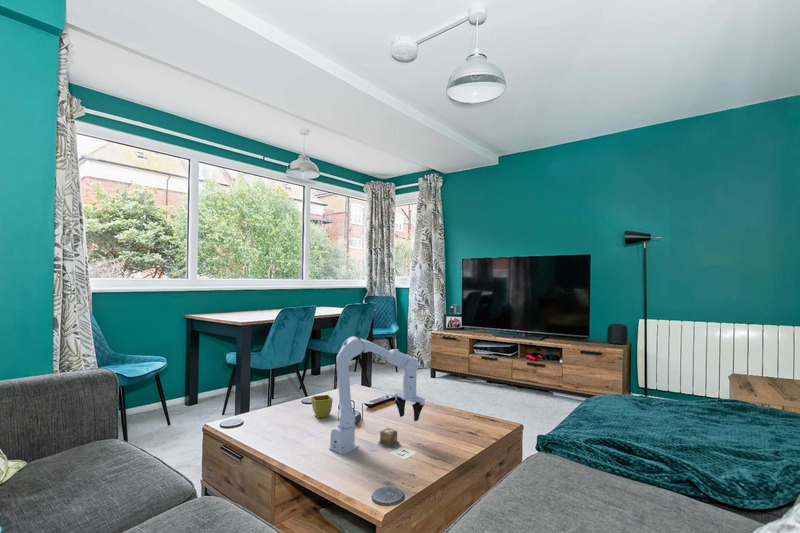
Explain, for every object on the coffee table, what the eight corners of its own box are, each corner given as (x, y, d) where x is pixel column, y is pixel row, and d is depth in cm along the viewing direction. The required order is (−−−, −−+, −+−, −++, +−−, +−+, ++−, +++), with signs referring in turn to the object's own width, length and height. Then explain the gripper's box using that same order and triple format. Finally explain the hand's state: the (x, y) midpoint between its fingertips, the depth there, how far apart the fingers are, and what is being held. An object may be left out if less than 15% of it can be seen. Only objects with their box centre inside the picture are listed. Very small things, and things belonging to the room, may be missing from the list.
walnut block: (389, 446, 161) (389, 434, 161) (380, 443, 164) (380, 431, 164) (397, 443, 165) (397, 430, 165) (387, 439, 168) (388, 427, 168)
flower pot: (310, 414, 199) (311, 396, 200) (327, 412, 203) (328, 394, 203) (314, 420, 191) (315, 401, 192) (332, 417, 195) (333, 399, 195)
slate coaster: (390, 450, 158) (390, 449, 158) (373, 444, 164) (373, 443, 164) (404, 443, 165) (404, 442, 165) (387, 438, 171) (387, 437, 171)
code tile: (405, 460, 150) (405, 459, 150) (388, 454, 155) (388, 453, 156) (417, 453, 157) (417, 452, 157) (401, 447, 162) (401, 446, 162)
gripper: (429, 387, 166) (428, 419, 166) (402, 381, 175) (401, 412, 175) (419, 390, 161) (418, 424, 160) (391, 384, 170) (391, 416, 170)
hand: (409, 418), depth 167 cm, fingers open, 7 cm apart
